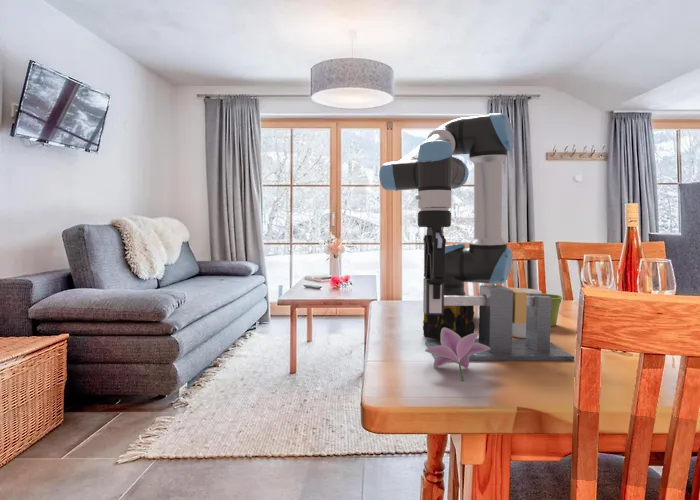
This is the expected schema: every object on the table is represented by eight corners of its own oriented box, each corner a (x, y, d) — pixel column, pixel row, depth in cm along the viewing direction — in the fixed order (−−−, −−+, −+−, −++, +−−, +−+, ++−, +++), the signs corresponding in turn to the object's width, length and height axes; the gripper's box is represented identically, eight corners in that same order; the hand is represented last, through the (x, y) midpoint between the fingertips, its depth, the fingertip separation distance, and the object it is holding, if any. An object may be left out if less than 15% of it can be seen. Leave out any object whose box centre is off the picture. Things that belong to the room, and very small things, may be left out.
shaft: (423, 311, 101) (423, 278, 100) (534, 311, 100) (535, 278, 100) (426, 315, 97) (426, 280, 96) (542, 315, 96) (543, 280, 96)
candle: (443, 329, 120) (443, 295, 120) (475, 336, 113) (476, 299, 112) (421, 336, 113) (422, 299, 112) (455, 343, 106) (455, 304, 105)
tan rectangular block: (502, 316, 103) (502, 287, 102) (512, 316, 102) (513, 287, 102) (515, 323, 95) (515, 292, 94) (526, 323, 95) (526, 292, 94)
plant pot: (523, 320, 132) (523, 293, 131) (553, 321, 131) (554, 293, 131) (535, 327, 122) (535, 298, 122) (568, 328, 122) (569, 298, 122)
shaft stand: (425, 343, 106) (425, 283, 105) (544, 343, 106) (546, 283, 105) (436, 360, 92) (437, 292, 91) (574, 360, 92) (576, 292, 91)
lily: (500, 379, 84) (488, 332, 88) (487, 373, 74) (474, 320, 78) (441, 389, 88) (433, 344, 92) (422, 384, 79) (414, 334, 83)
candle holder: (544, 339, 109) (545, 293, 108) (504, 337, 111) (505, 292, 110) (535, 330, 119) (536, 288, 118) (499, 329, 121) (499, 287, 120)
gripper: (412, 211, 106) (411, 304, 107) (424, 208, 89) (423, 318, 90) (442, 211, 106) (441, 304, 107) (460, 208, 89) (458, 318, 90)
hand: (433, 310), depth 98 cm, fingers closed on shaft, 4 cm apart
